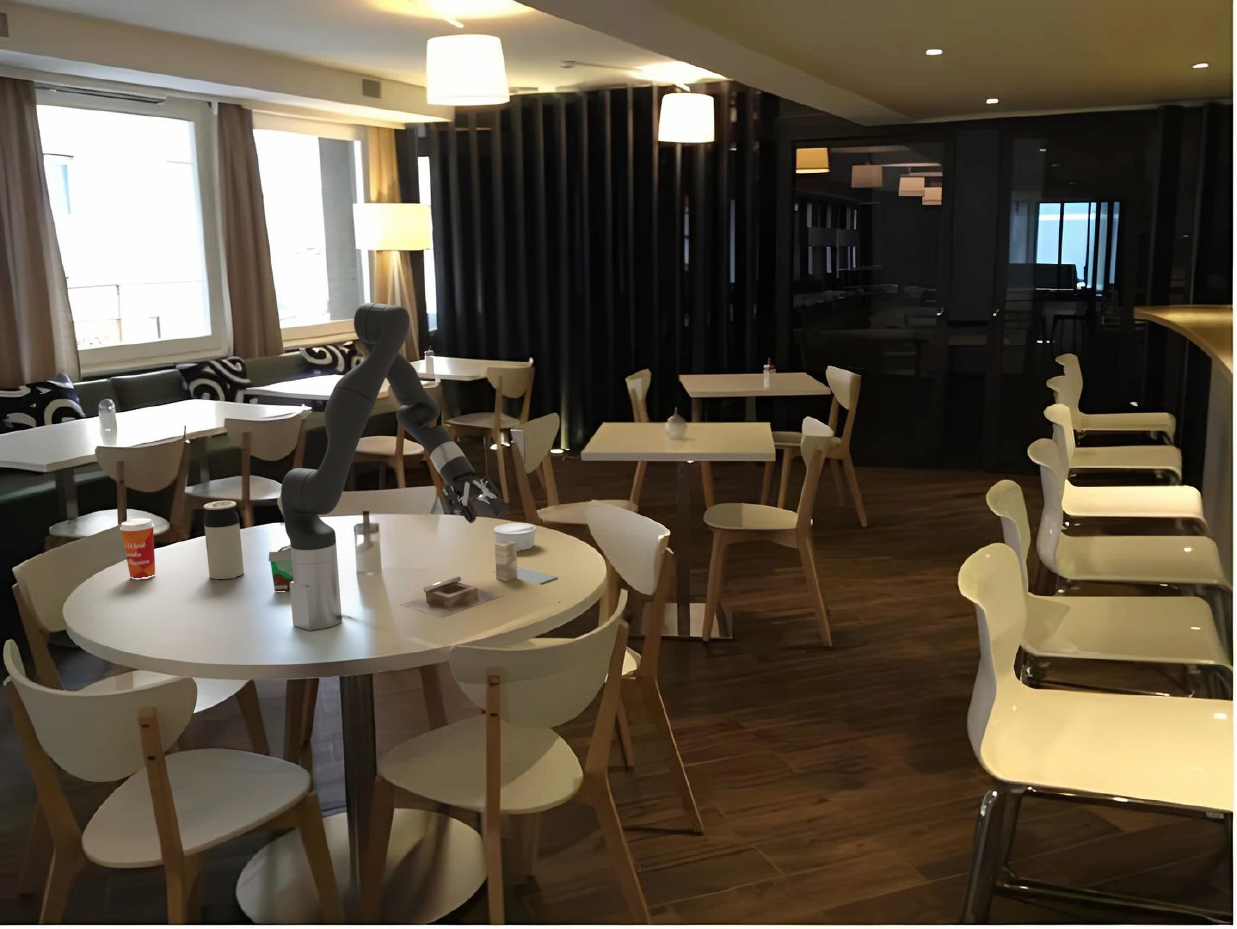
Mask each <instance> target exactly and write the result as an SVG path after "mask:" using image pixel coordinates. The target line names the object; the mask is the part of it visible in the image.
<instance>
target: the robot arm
mask: <svg viewBox="0 0 1237 929" xmlns="http://www.w3.org/2000/svg"><path fill="white" fill-rule="evenodd" d="M410 320H411V319H410V315H409V311H408V310H407V309H406V308H404V307H403V306H399V305H394V304H386V303H378V302H363V303H361V304H360V305H359V306H358V307H357V309H356V311H355V313H354V317H353V329H354V332H355V335H356V336H357V338H358V340H359V342H360V343H361V344H362V346H363V347H364V348H365V350H366V351H367V352H368V353H369V354H368V355H367V357H365V358H364V359H363V360H362V361H361V362H359V363H358V364H357V365H355V366H354V367H353V368H352V369H350V370H349V371H348V372H346V373H345V374H344V375H343V376H342V377H341V378H340V379H339V380H338V381H337V382H336V384H335V385H334V387H333V389H332V391H331V393H330V397H329V399H328V401H327V403H326V405H325V409H324V414H323V415H324V426H325V430H326V435H327V447H326V452H325V454H324V457H323V459H322V462H321V464H320V466H319V468H318V469H313V468H304V467H303V468H302V467H299V468H293V469H291V470H289V471H288V472H287V473H286V474H285V475H284V477H283V479H282V482H281V486H280V487H281V488H280V499H281V508H282V514H283V522H284V523H283V524H284V529H285V532H286V533H285V534H286V535H287V537H288V538H289V541H290V542H289V543H290V544H289V545H291V556H292V569H293V581H292V582H290V591H289V594H290V595H289V596H290V603H291V604H290V606H291V618H292V626H295V627H298V628H300V629H303V630H306V631H313V630H320V629H321V630H322V629H328V628H331V627H335V626H337V625H338V624H340V623H341V622H342V620H343V616H342V614H343V613H342V605H341V604H342V602H341V591H340V589H341V587H340V577H339V576H340V575H339V565H338V564H339V562H338V552H337V551H338V550H337V549H338V548H337V536H336V535H337V534H336V531H335V529H334V528H333V527H332V526H330V525H328V524H327V523H325V522H324V520H322V518H320V516H319V515H321V516H322V515H327V514H330V513H331V512H332V511H334V510H335V508H336V507H337V505H338V503H339V502H340V500H341V497H342V495H343V491H344V488H345V484H346V481H347V479H348V475H349V472H350V467H351V465H352V461H353V458H354V456H355V452H356V450H357V448H358V445H359V442H360V440H361V437H362V435H363V433H364V430H365V428H366V426H367V424H368V421H369V419H370V417H371V415H372V412H373V409H374V406H375V405H376V402H377V399H378V396H379V394H380V391H381V389H382V387H383V384H384V382H385V380H387V382H388V384H389V387H390V388H391V391H392V393H393V395H394V398H395V399H396V402H397V403H399V404H400V405H401V406H400V407H399V408H398V409H397V410H396V420H397V422H398V425H399V426H400V427H401V428H402V429H403V430H405V431H406V432H407V433H408V434H409V435H411V436H412V438H414V439H415V440H416V441H417V442H418V443H420V445H421V447H423V449H424V450H425V452H426V453H427V455H428V456H429V459H430V460H431V462H432V464H433V467H434V468H435V469H436V471H437V473H438V474H439V475H440V478H442V480H443V482H444V483H445V486H444V488H443V489H442V490H441V494H442V497H443V498H444V499H445V501H446V504H447V505H448V506H449V509H450V510H451V511H453V512H456V511H459V512H460V513H461V514H462V515H463V517H464V518H465V520H466V521H467V522H468V523H470V524H472V523H474V522H475V521H476V520H477V516H476V515H475V513H474V511H473V510H472V509H471V507H470V506H469V505H468V502H469V501H471V500H477V499H478V500H479V501H483V502H485V503H487V504H488V506H489V507H490V509H491V511H492V512H493V514H494V516H496V517H499V516H501V515H502V513H503V507H502V505H500V503H499V501H498V500H497V499H498V498H499V497H500V495H501V492H500V491H499V490H498V488H497V487H496V485H495V484H494V482H492V480H491V478H490V477H489V476H487V475H486V476H484V477H483V478H482V479H479V478H478V477H477V476H476V471H475V469H474V467H473V466H472V464H471V463H470V461H469V459H468V458H467V456H466V455H465V453H463V451H462V449H461V448H460V447H459V446H458V445H457V444H456V441H455V440H454V439H453V437H452V436H451V435H450V433H449V431H448V430H447V429H446V428H445V427H444V426H442V425H434V426H431V427H426V426H428V425H430V424H431V423H434V422H435V421H436V420H437V419H439V417H440V414H441V408H440V405H439V403H438V402H437V400H436V399H435V398H434V397H433V396H432V395H431V394H430V393H429V392H427V391H426V389H425V387H424V386H423V383H422V381H421V379H420V376H419V375H418V372H417V370H416V368H415V367H414V365H412V363H411V362H410V361H409V360H408V359H407V358H406V357H404V355H402V354H401V353H400V351H401V349H402V347H403V345H404V343H405V341H406V338H407V336H408V333H409V330H410ZM481 493H482V494H481Z"/></svg>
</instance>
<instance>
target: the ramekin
mask: <svg viewBox="0 0 1237 929" xmlns="http://www.w3.org/2000/svg"><path fill="white" fill-rule="evenodd" d="M536 533H537V527H536V525H534V524H532V523H527V522H526V523H525V522H512V523H509V522H508V523H504V524H500V525H496V526H495V527H494V529H493V534H494V537H495V542H496V544H497V543H501V542H504V541H512V542H516V552H521V551H520V550H524V551H526V550H525V549H528V550H530V549H532V547H533V546H534V544H535V538H536ZM529 548H530V549H529Z"/></svg>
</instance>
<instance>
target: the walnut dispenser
mask: <svg viewBox="0 0 1237 929" xmlns="http://www.w3.org/2000/svg"><path fill="white" fill-rule="evenodd" d="M461 581H462V578H461V576H456V577H452V578H449V579H446V580H442V581H440V582H437V583H434V584H431V585H427V586H424V587H423V588H422V589H423V592H424V593H425V596H422V597H419V598H416V599H413V600H410V601H407V602H404V603H401V604H400V606H403V607H405V608H409V609H412V610H416V611H418V612H423V613H426V614H429V615H433V616H436V617H439V618H446V617H448V616H451V615H454V614H457V613H459V612H462V611H465V610H468V609H471V608H473V607H476V606H478V605H482V604H485V603H487V602H490V601H492V600H496V599H498V598H501V597H504V595H503V594H499V593H494V592H491V591H487V590H484V589H480V588H478V587H477V586H473V585H469V584H465V583H462V582H461Z"/></svg>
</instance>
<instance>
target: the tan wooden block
mask: <svg viewBox="0 0 1237 929" xmlns="http://www.w3.org/2000/svg"><path fill="white" fill-rule="evenodd" d="M494 552H495V553H494V555H495V556H494V557H495V570H496V573H495V575H496V576H495V577H496V578H495V579H496V580H499V581H504V582H506V581H509V580H510V581H511V580H513V579H517V567H518V560H517V558H518V557H517V551H516V542H512V541H504V542H501V543H497V542H496V543H494Z"/></svg>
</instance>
